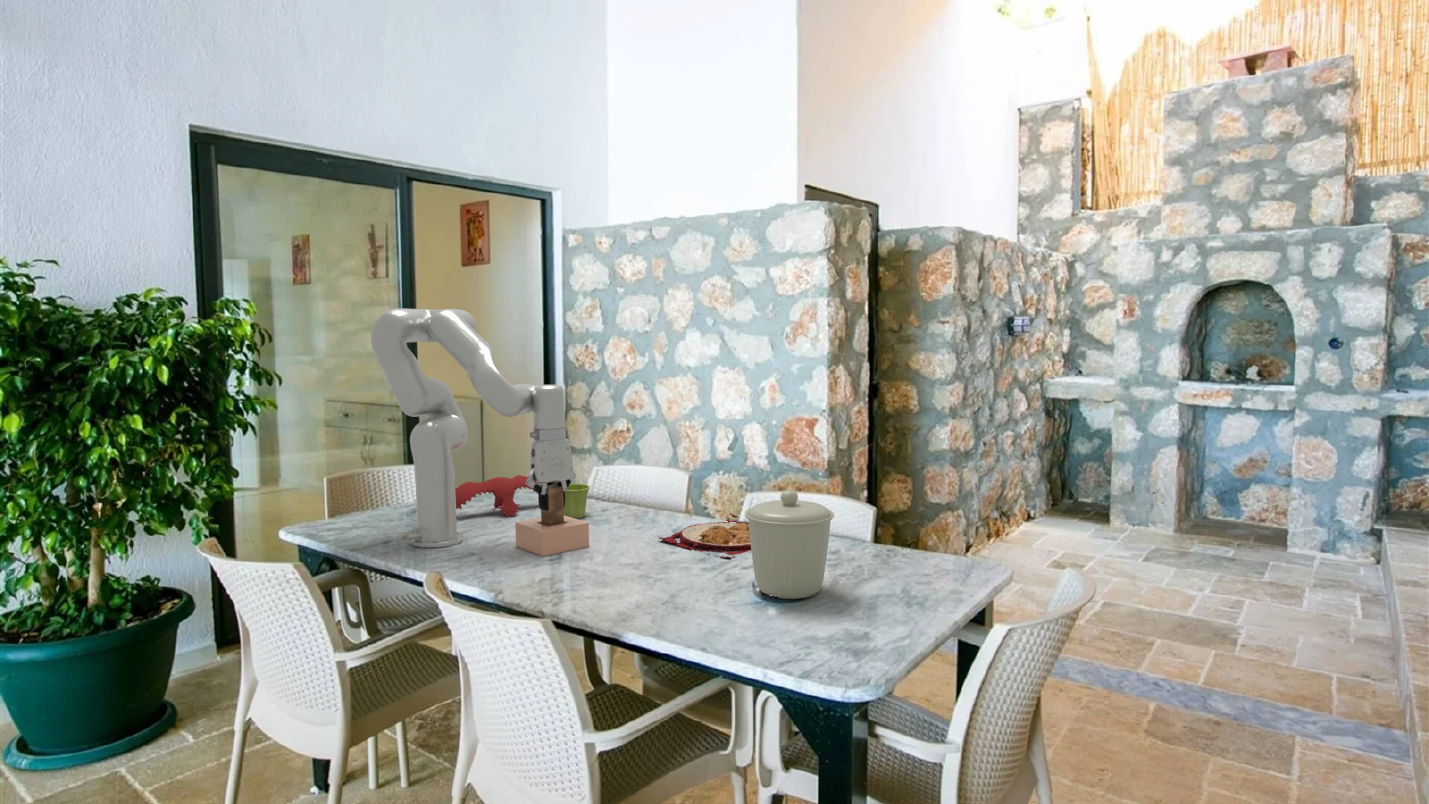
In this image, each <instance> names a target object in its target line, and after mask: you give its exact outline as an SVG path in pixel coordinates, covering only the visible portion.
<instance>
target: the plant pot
mask: <svg viewBox="0 0 1429 804" xmlns="http://www.w3.org/2000/svg"><path fill="white" fill-rule="evenodd" d="M590 489H591V486H590V485H588V484H583V483H570V485H569V486H568V487H567V491H565V507H564V515H565V516H568V517H571V518H575V519H581V518H584V517H585V515H586V509H587V502H588V501H587V500H588V494H589V491H590Z"/></svg>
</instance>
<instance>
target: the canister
mask: <svg viewBox="0 0 1429 804" xmlns="http://www.w3.org/2000/svg"><path fill="white" fill-rule="evenodd" d="M798 499H799V495H798V493H797V492H796V491H794V490H791V489H788V490H787V489H786V490H783V491H782V492H781V494H780V499H779V500H778V499H776V500H768V501H767V500H766V501H762V502H759V503H757V504H754V505H753V506H752V507H751V508H748V509H747V510H746V511H744V516H745V518H746V519H747V520H748V521H747V522H748V523H749V533H750V541H751V551H750V552H751V558H752V567H753V571H754V579H755V583H756V586H757V587H758V589H759V590H760V591H761V593H763V594H764V593H765V595H766V594H768V595H772V596H775V597H778V598H777V599H782V600H796V599H797V600H798V599H806V598H809V597H812V596H815V595H816V594H817V593H818V592H819V591H820V590H821V588H822V585H823V583H824V578H825V572H826V566H827V565H826V564H827V556H828V548H829V539H830V531H831V530H830V529H831V520H833V519H834V517H835V513H834V512H833V511H832V510H830V509H828V508H827V507H826V506H825V505H822V504H820V503H817V502H813V501H807V500H798ZM768 595H767V596H768ZM775 597H774V598H775Z"/></svg>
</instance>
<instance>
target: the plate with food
mask: <svg viewBox="0 0 1429 804" xmlns="http://www.w3.org/2000/svg"><path fill="white" fill-rule="evenodd" d="M729 515H731V518H735V520H734V519H732V520H731V519H730V518H727V519H726V520H725V521H728V522H724V521H717V522H715V521H714V522H711V521H710V522H706V523H698V524H694V525H689V526H687V527H685V528H683V529H682V530H681V531H679V532H676V533H674V534H672V535H670V536H666V537H663V536H662V537H659V536H658V539H659V540H662V541H663V542H668V543H671V544H673V543H674V544H675V546H679V547H682V548H685V549H689V550H690V551H692V550H697V551H698V552H700V553H703V552H707V556H710V555H712V556H713V554H712V553H716V552H718V553H721V554H722V553H723V554H724V555H725V554H726V555H729V556H723V555H721V556H719V557H720V558H723V559H731V560H732V559H734V558H736V556H735V555H742V554H743V553H746V552H752V551H751V541H750V533H749V523H748V521H737V520H736V519H737V518H738V515H735V514H734V513H731V512H730V513H729ZM730 522H736V523H730ZM678 537H679V542H678V540H677V538H678ZM711 552H712V553H711ZM710 553H711V554H710Z"/></svg>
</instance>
